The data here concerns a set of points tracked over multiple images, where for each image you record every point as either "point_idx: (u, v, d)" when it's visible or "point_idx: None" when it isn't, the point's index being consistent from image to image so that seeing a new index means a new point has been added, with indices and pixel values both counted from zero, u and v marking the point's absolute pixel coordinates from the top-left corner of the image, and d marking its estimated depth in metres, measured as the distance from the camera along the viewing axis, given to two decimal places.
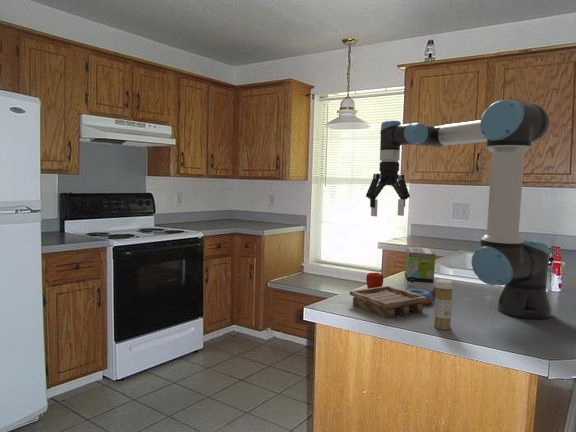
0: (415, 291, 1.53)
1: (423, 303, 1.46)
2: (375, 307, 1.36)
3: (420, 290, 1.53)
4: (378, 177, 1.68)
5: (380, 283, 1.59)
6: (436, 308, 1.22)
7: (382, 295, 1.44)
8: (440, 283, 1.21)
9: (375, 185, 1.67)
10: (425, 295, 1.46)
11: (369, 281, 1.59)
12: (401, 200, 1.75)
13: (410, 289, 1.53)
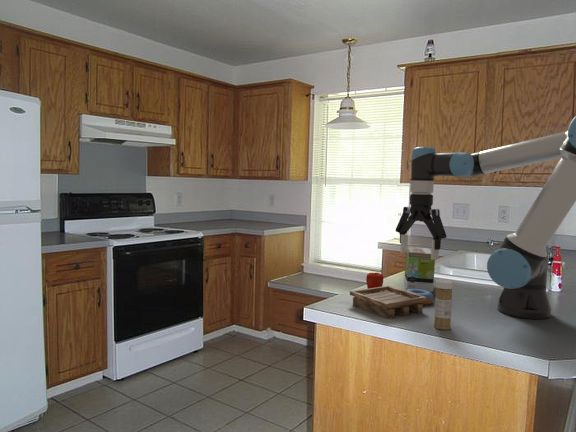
0: (416, 291, 1.52)
1: (424, 303, 1.46)
2: (375, 307, 1.36)
3: (421, 290, 1.52)
4: (404, 211, 1.53)
5: (380, 283, 1.59)
6: (436, 308, 1.22)
7: (382, 295, 1.44)
8: (440, 283, 1.21)
9: (401, 219, 1.55)
10: (426, 295, 1.46)
11: (370, 281, 1.59)
12: None
13: (411, 289, 1.53)
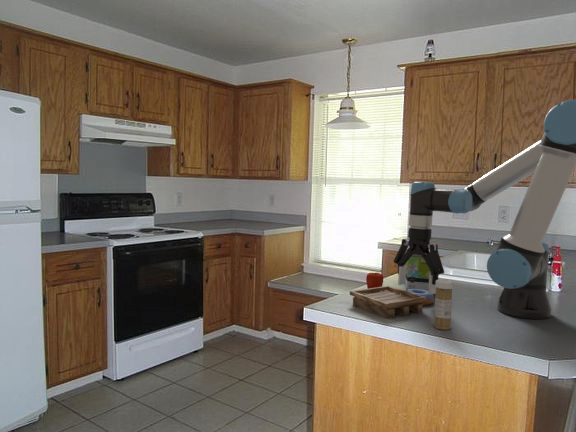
0: (416, 291, 1.52)
1: (424, 303, 1.46)
2: (375, 307, 1.36)
3: (421, 290, 1.52)
4: (402, 243, 1.54)
5: (380, 283, 1.59)
6: (436, 308, 1.22)
7: (382, 295, 1.44)
8: (440, 283, 1.21)
9: (399, 251, 1.56)
10: (426, 295, 1.46)
11: (369, 281, 1.59)
12: None
13: (411, 289, 1.53)
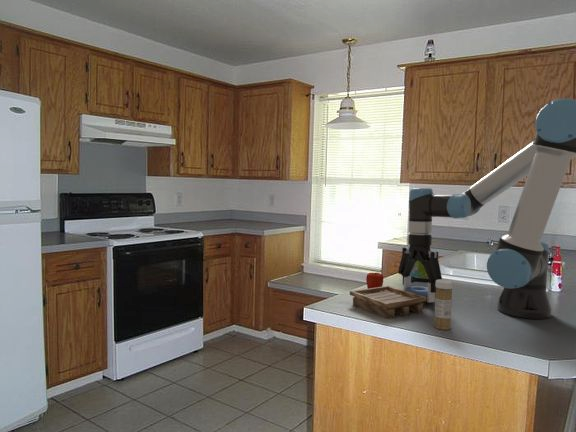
0: (417, 288, 1.52)
1: None
2: (375, 307, 1.36)
3: (422, 287, 1.52)
4: (403, 251, 1.54)
5: (380, 283, 1.59)
6: (436, 308, 1.22)
7: (382, 295, 1.44)
8: (440, 283, 1.21)
9: (402, 260, 1.55)
10: (427, 292, 1.46)
11: (369, 281, 1.59)
12: None
13: (412, 286, 1.53)
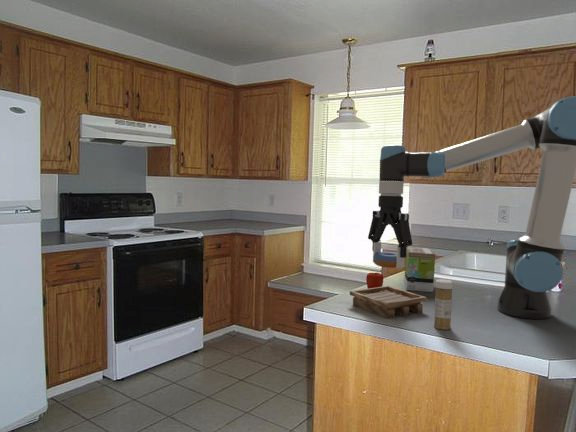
0: (387, 254, 1.42)
1: (394, 265, 1.36)
2: (375, 307, 1.36)
3: (392, 253, 1.42)
4: (374, 215, 1.44)
5: (380, 283, 1.59)
6: (436, 308, 1.22)
7: (382, 295, 1.44)
8: (440, 283, 1.21)
9: (372, 225, 1.45)
10: (396, 257, 1.36)
11: (370, 281, 1.59)
12: None
13: (381, 252, 1.43)
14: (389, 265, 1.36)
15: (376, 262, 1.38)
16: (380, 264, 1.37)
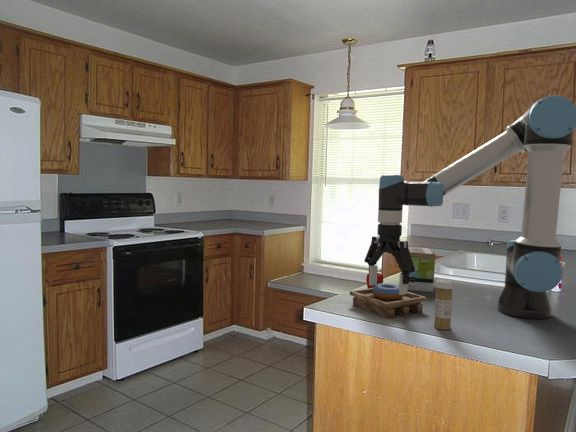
0: (386, 286, 1.43)
1: (393, 299, 1.37)
2: (375, 307, 1.36)
3: (391, 285, 1.43)
4: (372, 241, 1.45)
5: (380, 283, 1.59)
6: (436, 308, 1.22)
7: None
8: (440, 283, 1.21)
9: (369, 249, 1.46)
10: (395, 290, 1.37)
11: None
12: None
13: (381, 284, 1.43)
14: (388, 298, 1.37)
15: (375, 295, 1.39)
16: (379, 297, 1.38)
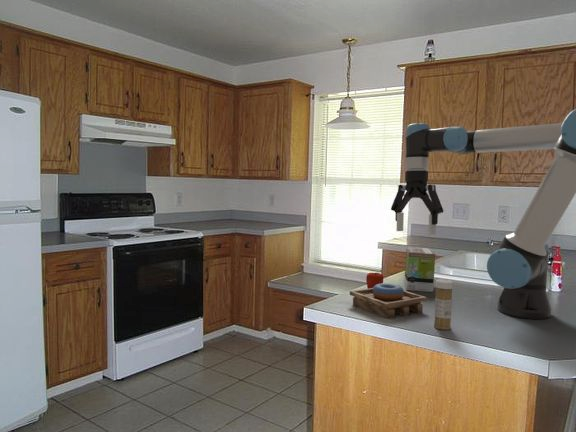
0: (386, 286, 1.43)
1: (393, 299, 1.37)
2: (375, 307, 1.36)
3: (391, 285, 1.43)
4: (399, 189, 1.54)
5: (380, 283, 1.59)
6: (436, 308, 1.22)
7: None
8: (440, 283, 1.21)
9: (396, 197, 1.55)
10: (395, 290, 1.37)
11: (370, 281, 1.59)
12: None
13: (381, 284, 1.43)
14: (388, 298, 1.37)
15: (375, 295, 1.39)
16: (379, 297, 1.38)
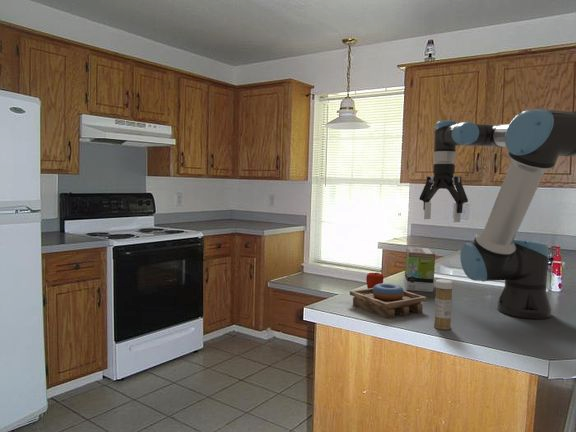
0: (386, 286, 1.43)
1: (393, 299, 1.37)
2: (375, 307, 1.36)
3: (391, 285, 1.43)
4: (427, 180, 1.68)
5: (380, 283, 1.59)
6: (436, 308, 1.22)
7: None
8: (440, 283, 1.21)
9: (424, 188, 1.69)
10: (395, 290, 1.37)
11: (370, 281, 1.59)
12: None
13: (381, 284, 1.43)
14: (388, 298, 1.37)
15: (375, 295, 1.39)
16: (379, 297, 1.38)
